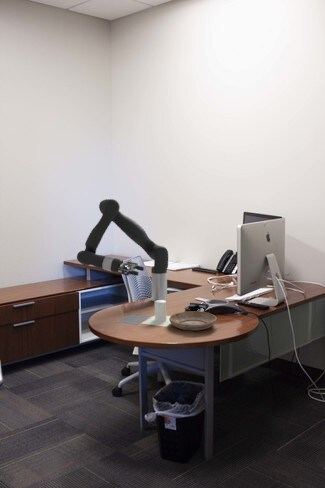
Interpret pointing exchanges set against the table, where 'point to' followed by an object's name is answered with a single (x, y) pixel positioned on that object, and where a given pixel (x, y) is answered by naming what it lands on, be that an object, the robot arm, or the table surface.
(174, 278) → the table surface
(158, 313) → the white lidded canister
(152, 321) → the board
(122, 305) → the table surface
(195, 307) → the end cap
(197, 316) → the ceramic bowl
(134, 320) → the mat
